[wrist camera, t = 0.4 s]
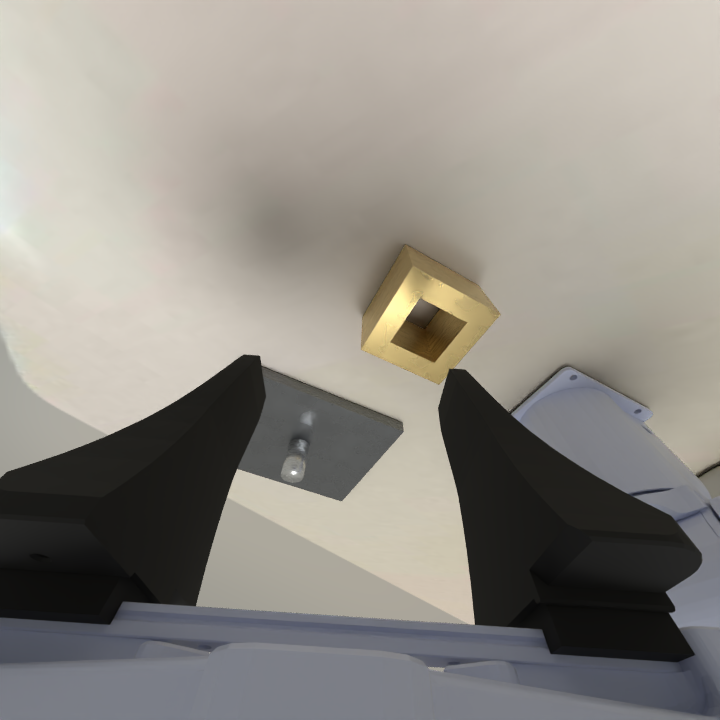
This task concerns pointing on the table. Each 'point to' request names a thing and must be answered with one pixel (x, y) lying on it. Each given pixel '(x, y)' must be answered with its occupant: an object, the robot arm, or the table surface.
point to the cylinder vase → (712, 481)
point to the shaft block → (315, 438)
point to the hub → (444, 332)
